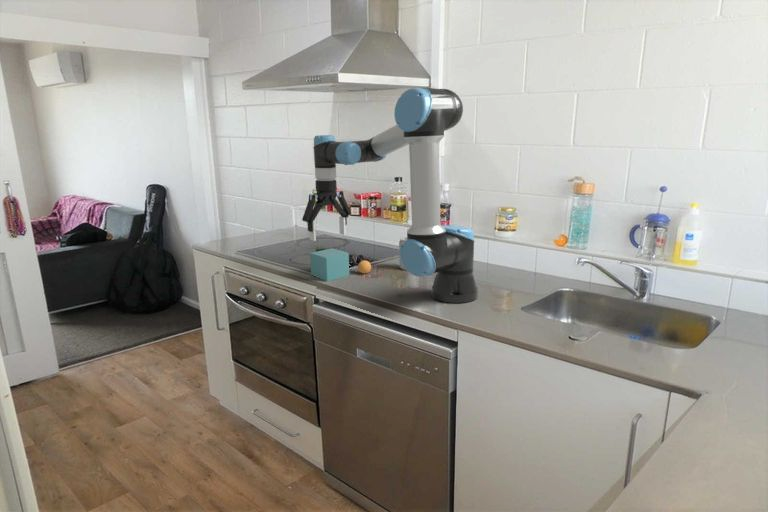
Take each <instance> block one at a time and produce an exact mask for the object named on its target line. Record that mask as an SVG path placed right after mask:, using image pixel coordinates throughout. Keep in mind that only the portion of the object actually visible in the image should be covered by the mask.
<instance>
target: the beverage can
mask: <svg viewBox="0 0 768 512" xmlns="http://www.w3.org/2000/svg"><path fill="white" fill-rule="evenodd" d="M406 240H407V236H405V237H401V238H399V242H398V249H399V250H398V256H399V258H398V260H399V261H398V262H399V265H398V266H399V268H400V269H401V270H403V271H407V269H406V268H405V267H404V266H403V264H402V261H401V258H400V248H401V246H402V245H403V243H404V242H405V241H406Z"/></svg>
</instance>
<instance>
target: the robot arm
mask: <svg viewBox="0 0 768 512" xmlns="http://www.w3.org/2000/svg"><path fill="white" fill-rule="evenodd" d="M463 113H464V105H463V102H462V100H461V98H460V97H459V95H458V94H457V93H456V92H455V91H453V90H452V89H451V90H450V89H448V88H432V87H416V88H415V87H413V88H408V89H407V90H405V91H404V92H402V93H401V95H400V97H399V98H397V101H396V104H395V106H394V119H395V120H394V121H395V123H396V124H395V125H394V126H391V127H389V128H388V129H386V130H384V131H382V132H380V133H379V134H376V135H375V136H372V137H371V138H369V139H366V140H352V141H336V138H335V136H334V135H333V134H331V135H330V134H321V135H318V134H317V135H315V136H314V137H313V147H312V149H313V159H314V176H315V177H314V178H315V179H316V180H315V191H316V194H313V193H310V194H309V195H308V201H307V204H306V207H305V210H304V213H303V216H302V219H301V220H302V221H303V222H306V223H307V231H308V232H309V240H310V241H314V242H315V241H317V232H316V222H314V221H315V219H316V217H317V216H318V215H319V213H320V211H321V210H322V208H323V207H327V206H333V207H334V209H335V210H336V211H337V213H338V214H339V215H340V216H339V217H338V218H339V224H338V225H339V235H343V236H346V235H347V233H346V231H347V230H346V229H347V228H346V226H347V225H348V222H347V218H349V216H350V215H352V212H351V210H350V207H349V205H348V203H347V200H346V199H345V196H344V195H345V193H344V191H342V190H337V180H336V178H337V167H336V166H337V165H340V164H341V165H344V166H350V165H352V166H354V165H356V164H360V163H370V162H371V163H372V162H375V163H376V162H380V161H383V160H385V159H386V157H387V155H389V154H391V153H394V152H396V151H398V150H400V149H402V148H404V147H406V146H408V145H409V146H408V147H409V176H410V182H409V183H410V209H411V226H410V227H409V228H408V229H407V230H406V237H407V240H406V241H405V242H404V243H403V245H402V246H401V248H400V258H401V261H402V264H403V266H404V267H405V268H406V269H407V270H406V271H407V272H408V273H409V274H410V275H412V276H414V277H425V276H431V275H433V274H435V277H434V278H435V279H434V280H433V284H432V287H431V297H432V298H433V299H435V300H437V301H439V302H443V303H448V304H449V303H450V304H451V303H452V304H462V303H469V302H473V301H474V300H477V299H478V297H479V289H478V286H477V282H476V279H475V275H474V253H475V252H474V250H475V233H474V230H473V228H470V227H466V226H460V225H446V224H445V225H444V224H443V225H442V223H441V186H440V185H441V180H440V175H441V174H440V173H441V171H440V141H442V139H443V138H444V137H445V131H448V130H450V129H452V128H454V127H455V126H457V125H458V124H459V123H460V121H461V119H462V117H463Z"/></svg>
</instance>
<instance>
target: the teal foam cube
mask: <svg viewBox="0 0 768 512" xmlns="http://www.w3.org/2000/svg"><path fill="white" fill-rule="evenodd" d="M309 255H310V259H309V260H310V276H311V275H313V276H312V277H314V276H316V277H315V278H317V277H318V278H317V279H319V278H320V280H323V281H326V282H331V281H335V280H338V279H341V278H345V277H349V276H350V271H349V263H350V255H349V252H347V251H343V250H339V249H336V248H333V247H331V248H328V249H322V250H319V251H314V252H310V253H309Z"/></svg>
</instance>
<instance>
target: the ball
mask: <svg viewBox="0 0 768 512" xmlns="http://www.w3.org/2000/svg"><path fill="white" fill-rule="evenodd" d="M357 264H358V269H357V271H358V272H360V273H361V274H364V275H365V274H367V273H369V272H370V271H371V270H372V265H371V263H370V262H369V261H368V260H365V259H364V260H361V261H359V263H357Z"/></svg>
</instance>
